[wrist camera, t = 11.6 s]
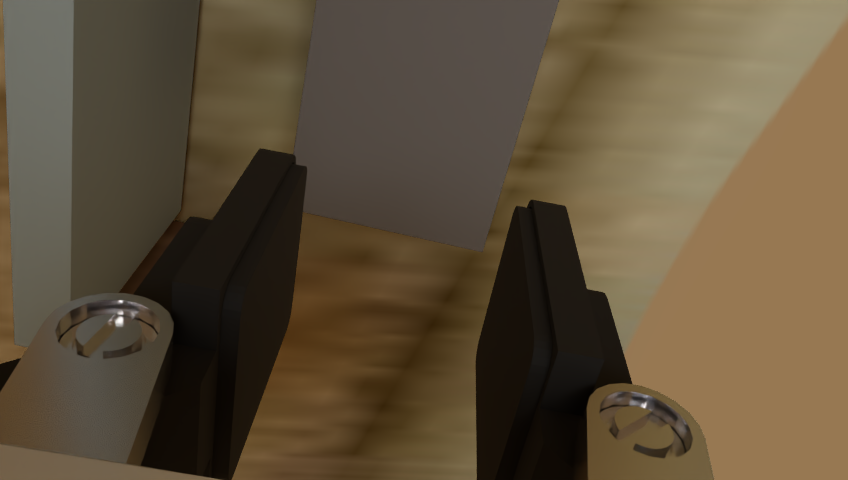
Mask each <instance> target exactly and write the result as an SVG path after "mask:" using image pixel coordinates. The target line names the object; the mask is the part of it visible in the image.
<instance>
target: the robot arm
mask: <svg viewBox="0 0 848 480" xmlns="http://www.w3.org/2000/svg"><path fill="white" fill-rule="evenodd" d="M306 179H307V167H306V166H302V165H296V157H295V155H292V154H287V153H282V152H276V151H271V150H266V149H259V150H258V152H257V153H256V155H255V156H254V158H253V159H252V161H251V162H250V164H249V165H248V167H247V168H246V170H245V171H244V173H243V174H242V176H241V177H240V179H239V180H238V182H237V184H236V185H235V187H234V188H233V190H232V191H231V193H230V194H229V196H228V197H227V199H226V200H225V202H224V203H223V205H222V206H221V208H220V209H219V211H218V212H217V214H216V215H215V217H214V218H213V220H208V219H203V218H197V217H190V218H189V219H188V220H187V221H186V222H185V223H184V225H183V226H182V227H181V229H180V230H179V231H178V233H177V234H176V236H175V237H174V238H173V240H172V241H171V243H170V244H169V245H168V247H167V248H166V249H165V251H164V252H163V254H162V255H161V256H160V258H159V259H158V260H157V262H156V263H155V265H154V266H153V267H152V269H151V270H150V271H149V273H148V274H147V276H146V277H145V278H144V280H143V281H142V283H141V284H140V285H139V287H138V288H137V289H136V291H135V292H134V294H133V295H132V294H127V293H102V294H96V295H89V296H85V297H82V298H79V299H76V300H73V301H70V302H68V303H66V304H64V305H63V306H61V307H59V308H58V309H56V310H54V311H53V312H52V313H51V314H50V316H49V317H48V318H47V319H46V320H45V321H44V322H43V324H42V326H41V327H40V329H39V330H38V332H37V334H36V335H35V337H34V338H33V340H32V342H31V343H30V345H29V347H28V348H27V350H26V351H25V353H24V355H23V356H22V358H20V359H16V360H13V361H9V362H6V363H2V364H0V480H231V479H232V477H233V474H234V472H235V469H236V466H237V464H238V461H239V458H240V456H241V453H242V450H243V447H244V445H245V442H246V439H247V436H248V434H249V431H250V428H251V426H252V423H253V420H254V417H255V415H256V412H257V409H258V406H259V404H260V401H261V398H262V396H263V393H264V390H265V387H266V385H267V382H268V379H269V376H270V374H271V371H272V368H273V366H274V363H275V360H276V357H277V355H278V352H279V349H280V346H281V344H282V341H283V338H284V336H285V333H286V330H287V327H288V323H289V319H290V315H291V309H292V301H293V292H294V284H295V275H296V266H297V258H298V249H299V240H300V232H301V223H302V214H303V205H304V197H305V188H306ZM476 432H477V480H714V477H713V473H712V468H711V463H710V458H709V454H708V449H707V445H706V440H705V437H704V435H703V432H702V430H701V428H700V426H699V424H698V423H697V422H696V420H695V419H694V418H693V417H692V416H691V414H690V413H689V412H688V411H687V410H685V409H684V408H683V407H682V406H680V405H679V404H678V403H677V402H675V401H674V400H672V399H670V398H668V397H667V396H665V395H663V394H661V393H659V392H657V391H654V390H651V389H649V388H646V387H643V386H638V385H633V384H632V381H631V378H630V374H629V371H628V367H627V364H626V360H625V357H624V354H623V350H622V347H621V343H620V340H619V336H618V333H617V330H616V326H615V323H614V319H613V316H612V312H611V309H610V306H609V302H608V299H607V297H606V295H605V293H603V292H599V291H593V290H588V289H587V288H586V284H585V280H584V276H583V272H582V268H581V264H580V260H579V256H578V252H577V248H576V244H575V240H574V236H573V232H572V228H571V224H570V221H569V217H568V213H567V209H566V207H565V206H563V205H557V204H552V203H547V202H541V201H536V200H531V201H530V202H529V204H528V206H527V208H525V207H520V206H516V208H515V210H514V213H513V216H512V220H511V223H510V227H509V231H508V234H507V238H506V242H505V246H504V249H503V253H502V257H501V261H500V264H499V268H498V272H497V275H496V279H495V283H494V287H493V290H492V294H491V298H490V302H489V305H488V309H487V313H486V316H485V320H484V324H483V328H482V331H481V335H480V339H479V343H478V348H477V354H476Z"/></svg>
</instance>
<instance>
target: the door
mask: <svg viewBox="0 0 848 480" xmlns="http://www.w3.org/2000/svg"><path fill="white" fill-rule="evenodd" d="M199 5H200V0H3V17H4V47H5V76H6V106H7V135H8V165H9V195H10V224H11V254H12V283H13V313H14V342H15V345H19V346H24V347H29V345H30V343H31V342H32V340H33V338H34V337H35V335H36V334H37V332H38V330H39V329H40V327H41V326H42V324H43V322H44V321H45V320H46V319H47V318H48V317H49V316H50V314H51V313H52V312H53V311H54V310H56V309H58V308H59V307H61V306H63V305H64V304H66V303H68V302H70V301H73V300H76V299H79V298H82V297H85V296H89V295H96V294H102V293H118V292H119V291H120V290H121V289H122V287H123V286H124V285H125V283H126V282H127V281H128V279H129V278H130V277H131V275H132V274H133V273H134V271H135V270H136V269H137V267H138V266H139V265H140V264H141V262H142V261H143V260H144V258H145V257H146V256H147V254H148V253H149V252H150V250H151V249H152V248H153V246H154V245H155V244H156V242H157V241H158V240H159V238H160V237H161V236H162V235H163V233H164V232H165V231H166V229H167V228H168V227H169V225H170V224H171V223H172V221H173V220H174V219H175V217H176V216H177V215H178V213H179V212H180V211H181V202H182V191H183V181H184V170H185V159H186V148H187V137H188V126H189V115H190V104H191V93H192V82H193V71H194V60H195V49H196V38H197V27H198V16H199Z"/></svg>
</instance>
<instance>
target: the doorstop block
mask: <svg viewBox="0 0 848 480" xmlns="http://www.w3.org/2000/svg"><path fill="white" fill-rule="evenodd" d="M558 2H559V0H316V7H315V14H314V20H313V27H312V34H311V40H310V47H309V53H308V60H307V67H306V73H305V80H304V87H303V93H302V100H301V106H300V113H299V120H298V126H297V133H296V140H295V146H294V153H293V155H295V157H296V165H302V166H306V167H307V179H306V188H305V197H304V205H303V212H305V213H309V214H314V215H318V216H323V217H327V218H332V219H336V220H341V221H345V222H350V223H354V224H359V225H363V226H368V227H372V228H377V229H381V230H385V231H390V232H394V233H399V234H403V235H408V236H412V237H417V238H421V239H426V240H430V241H435V242H439V243H444V244H448V245H453V246H457V247H462V248H466V249H470V250H475V251H479V252H483V248H484V245H485V242H486V239H487V235H488V232H489V229H490V225H491V222H492V219H493V216H494V212H495V209H496V206H497V202H498V199H499V196H500V193H501V189H502V186H503V183H504V179H505V176H506V173H507V170H508V166H509V163H510V160H511V156H512V153H513V150H514V147H515V143H516V140H517V137H518V133H519V130H520V127H521V124H522V120H523V117H524V114H525V110H526V107H527V104H528V101H529V97H530V94H531V91H532V87H533V84H534V81H535V78H536V74H537V71H538V68H539V64H540V61H541V58H542V55H543V51H544V48H545V45H546V41H547V38H548V35H549V32H550V28H551V25H552V22H553V18H554V15H555V12H556V9H557V5H558Z"/></svg>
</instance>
